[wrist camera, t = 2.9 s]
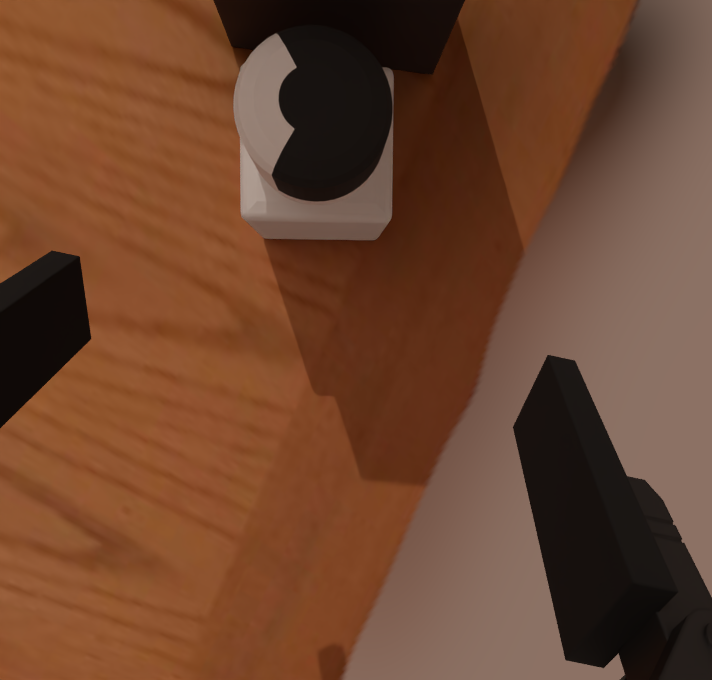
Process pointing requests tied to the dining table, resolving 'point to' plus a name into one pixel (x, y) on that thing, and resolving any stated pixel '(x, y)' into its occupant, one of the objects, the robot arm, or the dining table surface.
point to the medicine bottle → (315, 137)
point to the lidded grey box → (352, 25)
